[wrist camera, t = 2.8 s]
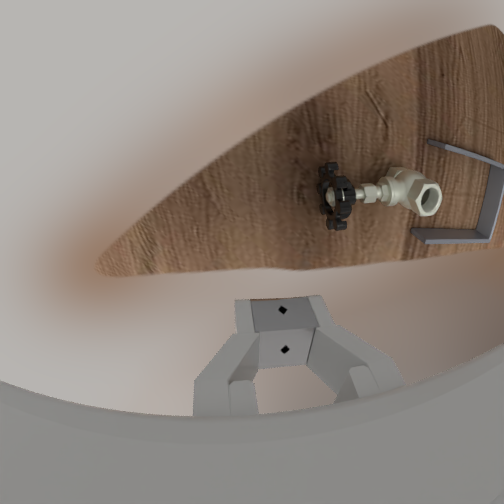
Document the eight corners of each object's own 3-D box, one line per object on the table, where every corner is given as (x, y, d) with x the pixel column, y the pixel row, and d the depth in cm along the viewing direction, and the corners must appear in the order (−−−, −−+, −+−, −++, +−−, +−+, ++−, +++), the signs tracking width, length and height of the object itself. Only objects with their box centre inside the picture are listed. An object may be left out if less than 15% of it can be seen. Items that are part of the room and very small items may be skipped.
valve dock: (493, 160, 26) (508, 166, 24) (476, 233, 32) (489, 242, 29) (427, 138, 25) (445, 144, 22) (410, 232, 31) (424, 244, 28)
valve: (410, 152, 26) (314, 156, 26) (447, 167, 20) (340, 170, 20) (407, 205, 29) (317, 216, 29) (439, 228, 23) (339, 245, 23)
